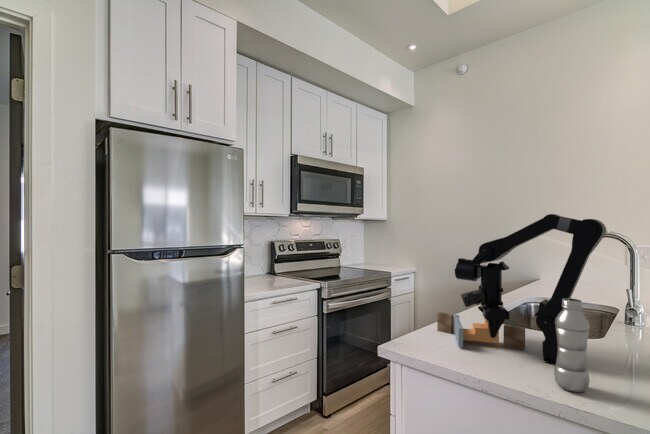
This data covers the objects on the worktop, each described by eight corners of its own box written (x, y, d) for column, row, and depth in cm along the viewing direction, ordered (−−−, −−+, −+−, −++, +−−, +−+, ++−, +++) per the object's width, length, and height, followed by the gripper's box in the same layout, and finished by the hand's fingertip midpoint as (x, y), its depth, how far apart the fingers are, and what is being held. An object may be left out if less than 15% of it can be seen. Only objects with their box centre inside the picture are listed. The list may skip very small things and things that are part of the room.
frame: (525, 348, 102) (525, 327, 102) (523, 350, 100) (523, 329, 101) (439, 329, 119) (439, 311, 119) (437, 330, 117) (437, 313, 117)
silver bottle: (547, 384, 79) (547, 297, 80) (567, 380, 82) (567, 295, 82) (575, 398, 73) (576, 304, 74) (596, 392, 76) (597, 302, 76)
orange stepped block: (462, 339, 105) (462, 320, 105) (460, 334, 109) (460, 316, 109) (498, 343, 102) (498, 323, 102) (495, 337, 107) (495, 318, 107)
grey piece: (452, 332, 115) (453, 314, 115) (458, 332, 115) (458, 315, 115) (457, 348, 101) (457, 328, 101) (464, 348, 101) (464, 328, 101)
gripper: (459, 277, 116) (459, 323, 116) (466, 287, 98) (466, 342, 98) (495, 278, 113) (495, 326, 113) (509, 289, 95) (509, 346, 95)
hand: (490, 334), depth 105 cm, fingers closed on orange stepped block, 5 cm apart
